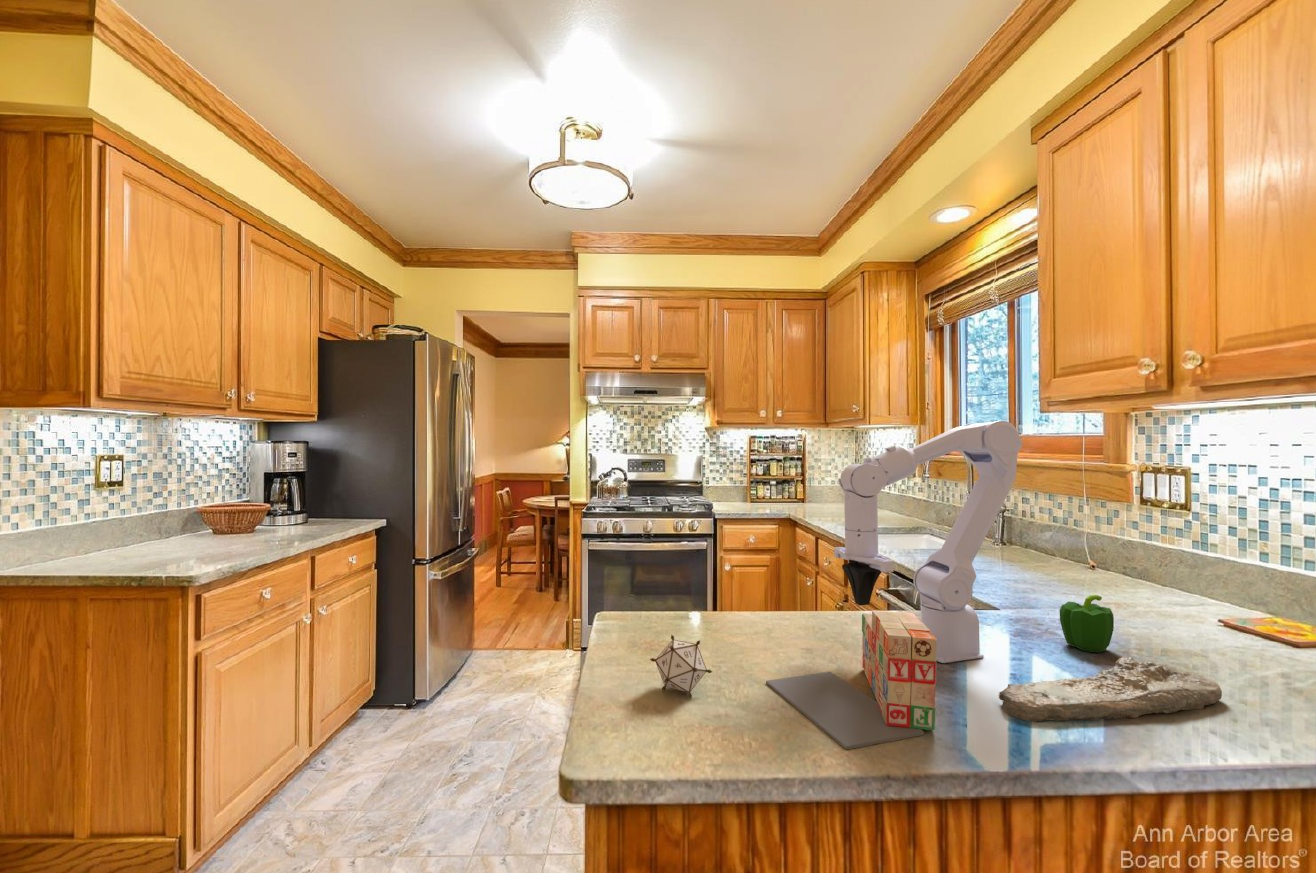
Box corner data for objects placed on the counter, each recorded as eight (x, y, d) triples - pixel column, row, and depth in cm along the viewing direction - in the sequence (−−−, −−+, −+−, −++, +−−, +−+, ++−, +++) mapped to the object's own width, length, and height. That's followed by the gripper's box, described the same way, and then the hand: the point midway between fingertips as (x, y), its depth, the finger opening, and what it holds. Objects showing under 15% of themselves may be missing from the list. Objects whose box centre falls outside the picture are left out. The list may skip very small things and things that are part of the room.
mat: (830, 673, 94) (830, 671, 94) (924, 734, 74) (924, 731, 74) (765, 683, 90) (765, 680, 90) (846, 749, 70) (846, 746, 70)
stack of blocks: (861, 667, 96) (862, 595, 96) (899, 671, 95) (900, 598, 95) (886, 725, 75) (887, 633, 75) (936, 731, 74) (937, 637, 74)
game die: (679, 721, 85) (658, 682, 80) (655, 682, 93) (634, 644, 88) (727, 686, 88) (709, 646, 83) (700, 650, 95) (682, 612, 90)
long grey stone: (980, 708, 85) (1035, 746, 75) (979, 674, 84) (1034, 708, 74) (1171, 678, 90) (1246, 710, 81) (1171, 646, 90) (1245, 674, 80)
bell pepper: (1067, 653, 103) (1066, 598, 103) (1054, 638, 110) (1053, 588, 111) (1123, 659, 100) (1122, 602, 100) (1106, 644, 107) (1105, 591, 108)
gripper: (819, 525, 108) (820, 595, 108) (868, 536, 94) (869, 617, 94) (851, 523, 110) (852, 593, 110) (903, 534, 96) (904, 613, 96)
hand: (862, 604), depth 102 cm, fingers closed
